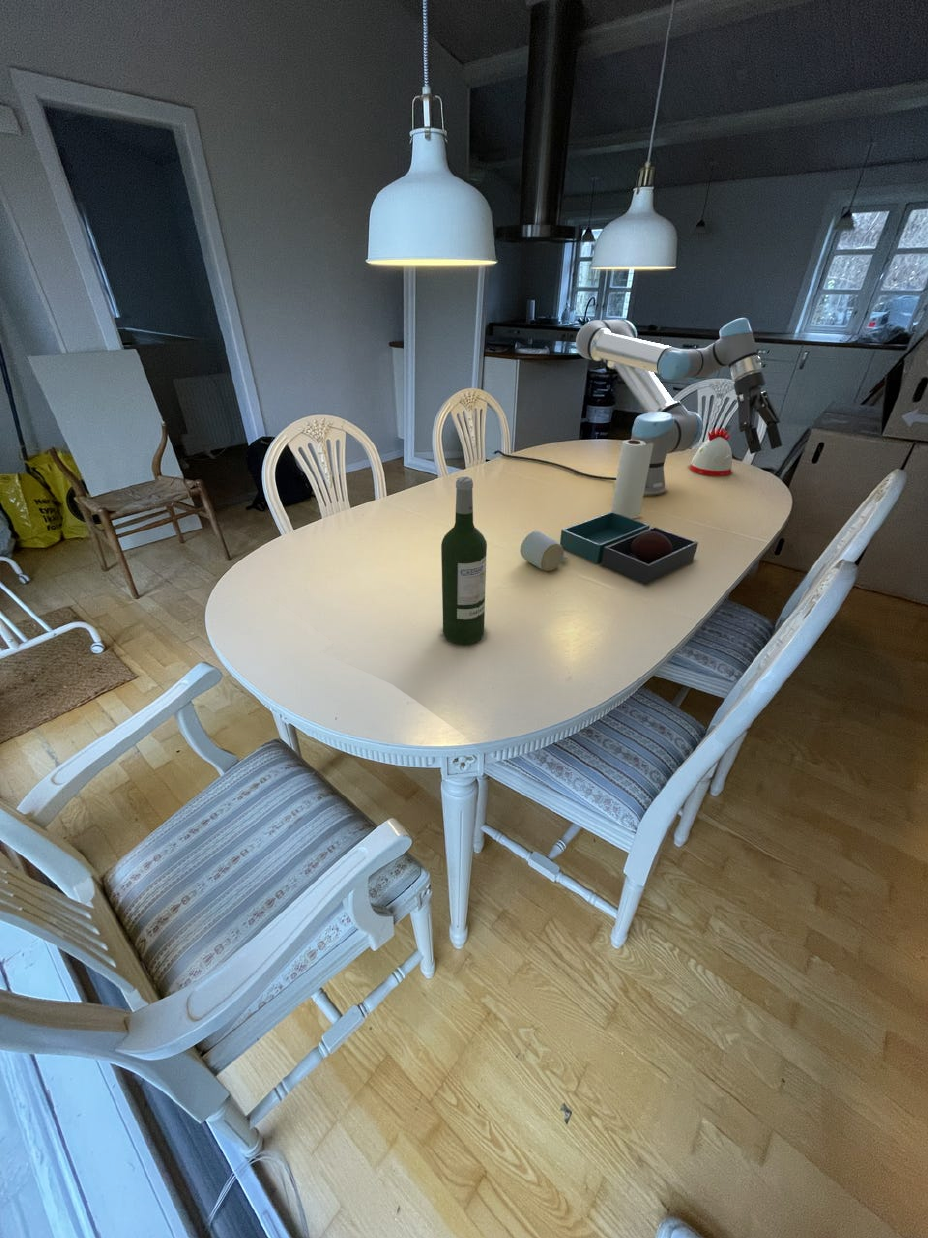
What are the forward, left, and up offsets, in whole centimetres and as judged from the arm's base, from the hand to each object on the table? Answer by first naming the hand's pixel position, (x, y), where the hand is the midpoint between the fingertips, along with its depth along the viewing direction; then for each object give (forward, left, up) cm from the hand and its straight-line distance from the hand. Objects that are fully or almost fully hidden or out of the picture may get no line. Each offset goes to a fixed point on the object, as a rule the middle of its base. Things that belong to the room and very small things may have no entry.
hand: (766, 449), depth 145 cm
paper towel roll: (-19, -37, -18) cm, 45 cm away
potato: (+3, -57, -17) cm, 59 cm away
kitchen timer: (-28, +28, -18) cm, 44 cm away
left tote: (-10, -57, -17) cm, 60 cm away
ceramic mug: (-12, -77, -18) cm, 80 cm away
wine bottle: (-1, -111, -18) cm, 112 cm away
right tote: (+3, -57, -17) cm, 59 cm away
